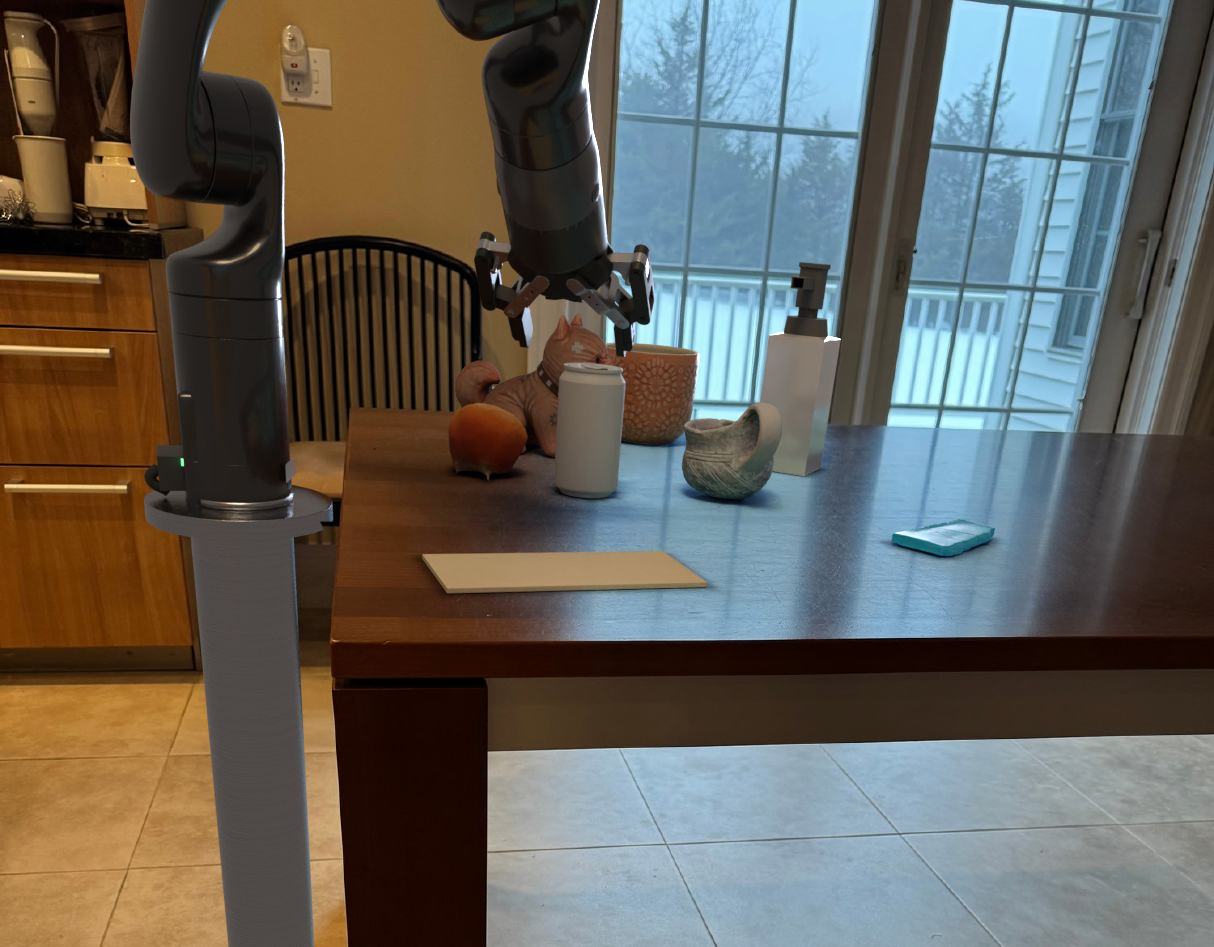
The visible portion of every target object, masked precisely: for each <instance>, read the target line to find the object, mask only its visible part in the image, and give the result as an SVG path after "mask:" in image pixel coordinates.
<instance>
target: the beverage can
mask: <svg viewBox="0 0 1214 947" xmlns="http://www.w3.org/2000/svg"><path fill="white" fill-rule="evenodd" d="M564 368H565V370H564V372H563V373H562V374H561V376H560V378H559V395H558V413H557V432H556V451H555V457H554V473H553V484H554V486H555V487H557V488H558V489H559V490H560V492H561V493H562V494H564V495H567V496H570V497H575V498H576V497H577V498H581V499H582V498H583V499H603V498H607V497H609V496H610V495H611V494H612V493H613V492H615V491H616V490H618V488H619V487H618V484H619V474H620V463H621V462H620V461H621V448H622V447H621V446H622V440H621V437H622V424H623V411H624V398H625V386H626V382H625V380H624V378H623V376H622V372H623V368H620V367H617V366H611V365H604V364H594V363H565V364H564Z"/></svg>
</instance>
